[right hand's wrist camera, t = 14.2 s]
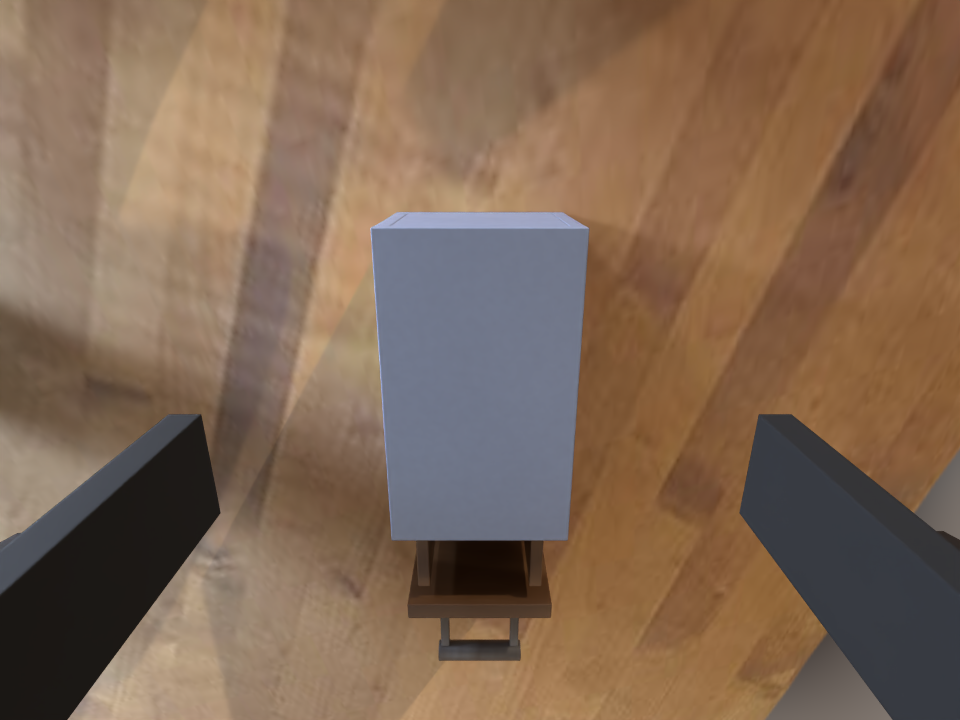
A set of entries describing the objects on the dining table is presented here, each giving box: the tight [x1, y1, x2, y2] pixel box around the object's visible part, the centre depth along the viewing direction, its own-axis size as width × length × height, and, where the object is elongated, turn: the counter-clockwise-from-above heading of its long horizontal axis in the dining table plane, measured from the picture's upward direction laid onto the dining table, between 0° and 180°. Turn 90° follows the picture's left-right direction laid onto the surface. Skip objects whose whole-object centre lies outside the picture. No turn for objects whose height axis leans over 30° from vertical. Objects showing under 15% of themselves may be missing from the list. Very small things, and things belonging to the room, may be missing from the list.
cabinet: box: [371, 212, 589, 540], centre depth 35 cm, size 19×11×9 cm, turn 0°
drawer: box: [408, 540, 552, 661], centre depth 38 cm, size 24×10×7 cm, turn 0°
